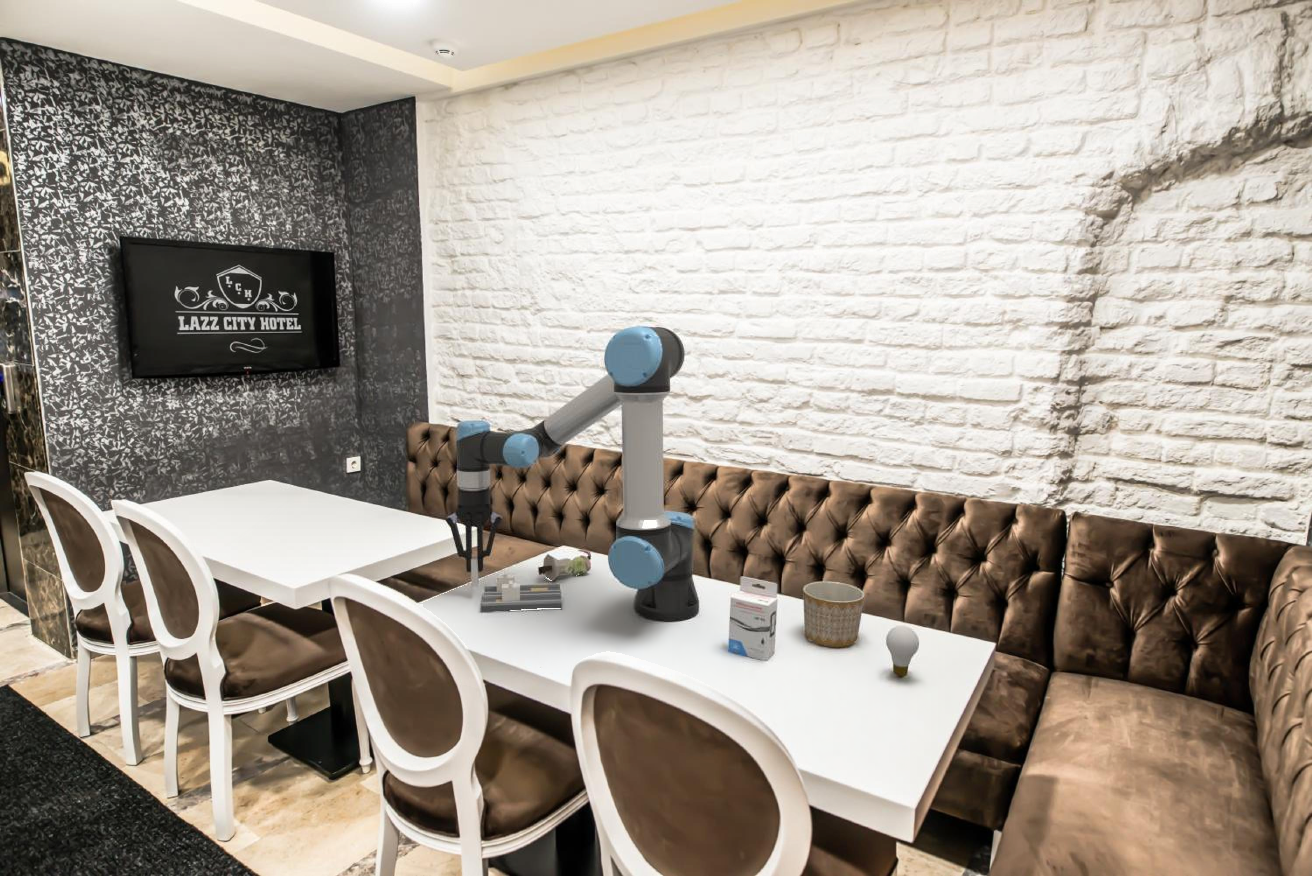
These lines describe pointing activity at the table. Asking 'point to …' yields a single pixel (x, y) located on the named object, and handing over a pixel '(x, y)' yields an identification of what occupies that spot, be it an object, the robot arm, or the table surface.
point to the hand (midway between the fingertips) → (475, 584)
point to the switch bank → (523, 598)
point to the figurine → (565, 565)
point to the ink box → (753, 619)
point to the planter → (832, 613)
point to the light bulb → (902, 648)
